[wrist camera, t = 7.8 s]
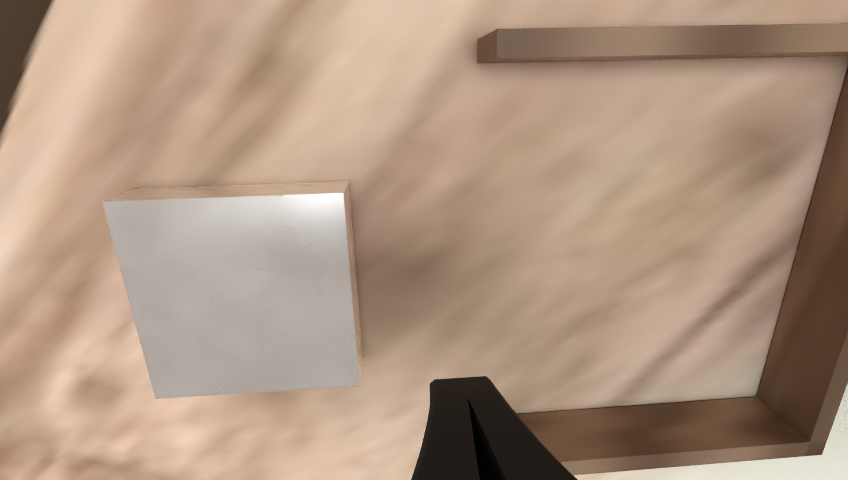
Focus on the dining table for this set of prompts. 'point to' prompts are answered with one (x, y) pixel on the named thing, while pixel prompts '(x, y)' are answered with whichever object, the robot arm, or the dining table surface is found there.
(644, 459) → the brown u-shaped frame
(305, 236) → the cover plate
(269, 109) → the dining table surface
